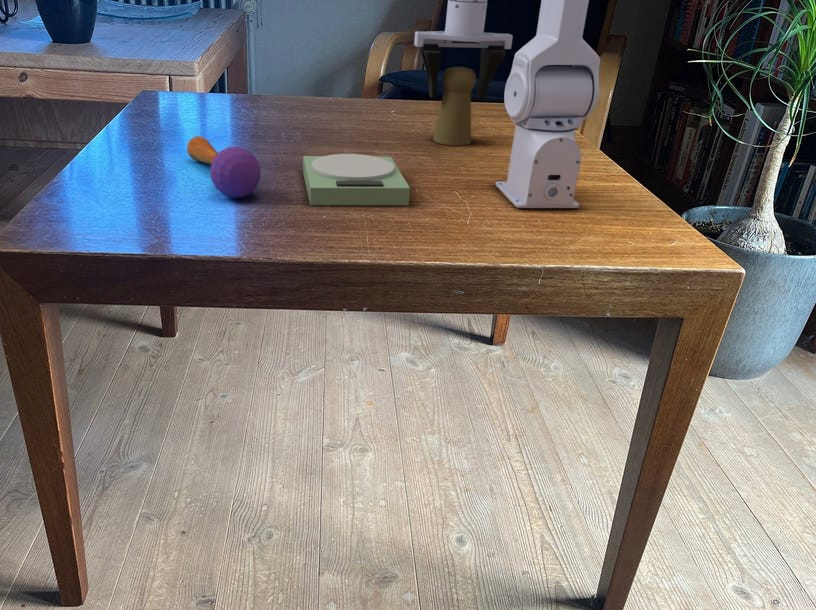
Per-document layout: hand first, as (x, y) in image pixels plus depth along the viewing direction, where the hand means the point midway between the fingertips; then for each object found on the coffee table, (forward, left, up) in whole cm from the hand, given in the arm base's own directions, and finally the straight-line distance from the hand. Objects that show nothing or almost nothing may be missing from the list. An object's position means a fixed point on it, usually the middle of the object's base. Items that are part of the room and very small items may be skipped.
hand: (456, 97), depth 114 cm
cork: (0, 0, -7) cm, 7 cm away
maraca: (-22, +36, -7) cm, 43 cm away
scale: (-25, +19, -7) cm, 32 cm away
